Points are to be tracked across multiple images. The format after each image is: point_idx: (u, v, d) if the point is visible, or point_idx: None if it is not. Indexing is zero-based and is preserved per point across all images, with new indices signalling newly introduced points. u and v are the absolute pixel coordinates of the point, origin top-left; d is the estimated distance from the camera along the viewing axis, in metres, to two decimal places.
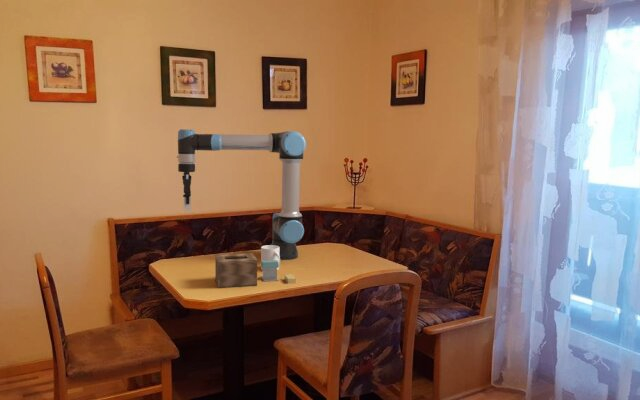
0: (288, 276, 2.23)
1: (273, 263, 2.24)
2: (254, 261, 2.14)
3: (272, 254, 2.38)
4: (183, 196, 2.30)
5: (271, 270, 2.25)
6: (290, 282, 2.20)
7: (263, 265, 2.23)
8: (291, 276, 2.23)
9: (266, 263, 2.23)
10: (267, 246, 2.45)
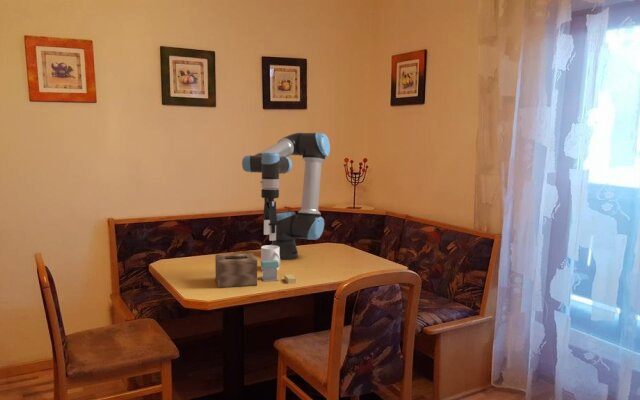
0: (288, 276, 2.23)
1: (273, 263, 2.24)
2: (254, 261, 2.14)
3: (272, 254, 2.38)
4: (269, 225, 2.15)
5: (271, 270, 2.25)
6: (290, 282, 2.20)
7: (263, 265, 2.23)
8: (291, 276, 2.23)
9: (266, 263, 2.23)
10: (267, 246, 2.45)
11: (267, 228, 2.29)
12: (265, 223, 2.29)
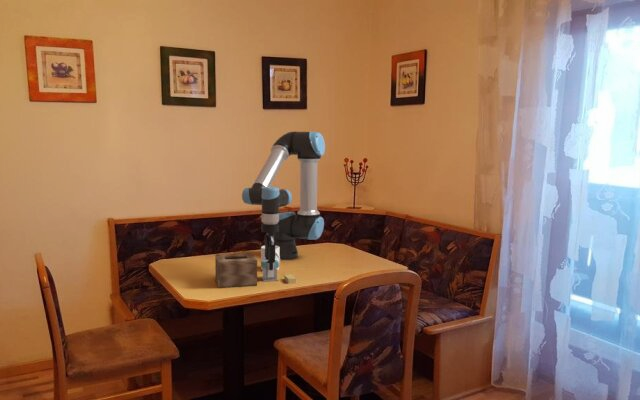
0: (288, 276, 2.23)
1: None
2: (254, 261, 2.14)
3: None
4: (267, 262, 2.21)
5: None
6: (290, 282, 2.20)
7: (263, 265, 2.23)
8: (291, 276, 2.23)
9: (266, 263, 2.23)
10: None
11: None
12: None
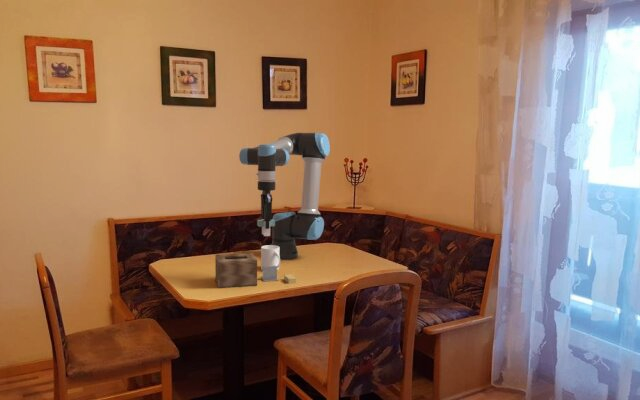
0: (288, 276, 2.23)
1: None
2: (254, 261, 2.14)
3: (272, 254, 2.38)
4: None
5: (271, 270, 2.25)
6: (291, 282, 2.20)
7: (259, 224, 2.19)
8: (291, 276, 2.23)
9: (262, 222, 2.20)
10: (267, 246, 2.45)
11: None
12: None
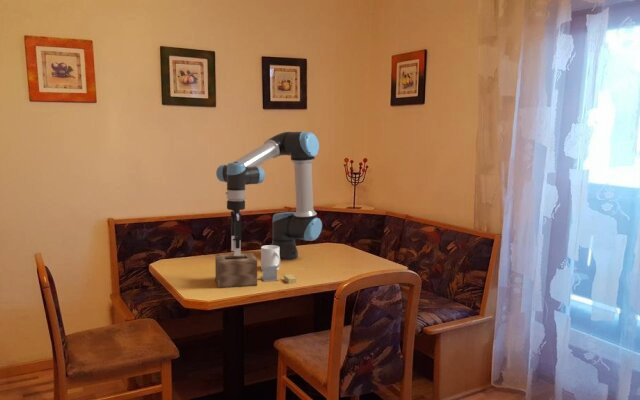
0: (288, 276, 2.23)
1: None
2: (254, 261, 2.14)
3: (272, 254, 2.38)
4: (233, 240, 2.11)
5: (271, 270, 2.25)
6: (291, 282, 2.20)
7: None
8: (291, 276, 2.23)
9: None
10: (267, 246, 2.45)
11: None
12: (233, 239, 2.21)
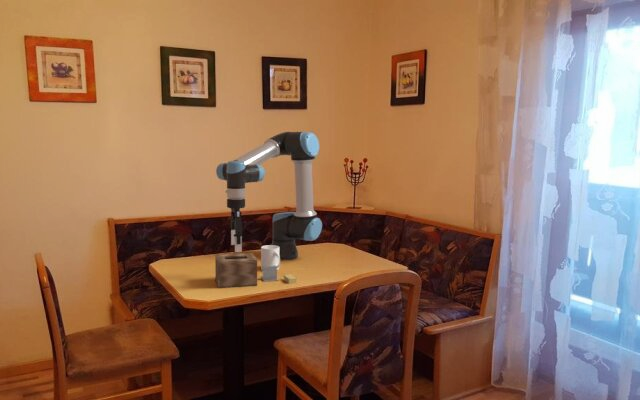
0: (288, 276, 2.23)
1: None
2: (254, 261, 2.14)
3: (272, 254, 2.38)
4: (234, 236, 2.09)
5: (271, 270, 2.25)
6: (291, 282, 2.20)
7: None
8: (291, 276, 2.23)
9: None
10: (267, 246, 2.45)
11: (234, 238, 2.24)
12: (232, 233, 2.23)
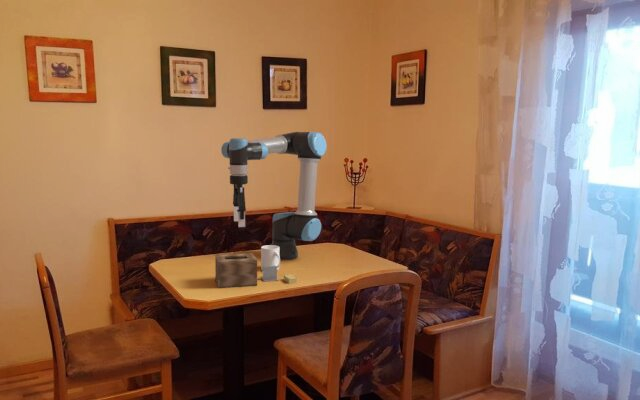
0: (288, 276, 2.23)
1: None
2: (254, 261, 2.14)
3: (272, 254, 2.38)
4: (237, 211, 2.13)
5: (271, 270, 2.25)
6: (291, 282, 2.20)
7: None
8: (291, 276, 2.23)
9: None
10: (267, 246, 2.45)
11: (237, 215, 2.28)
12: (235, 210, 2.27)
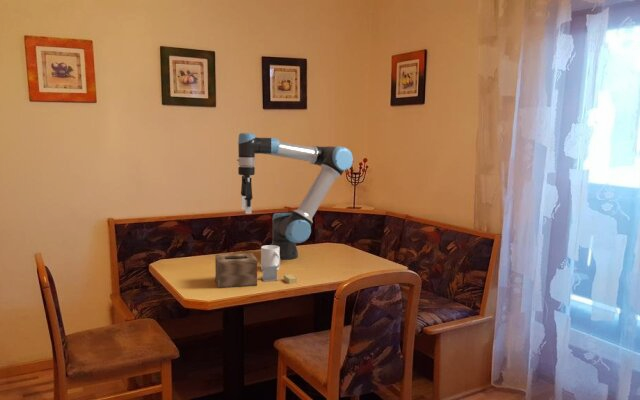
0: (288, 276, 2.23)
1: None
2: (254, 261, 2.14)
3: (272, 254, 2.38)
4: (245, 199, 2.34)
5: (271, 270, 2.25)
6: (291, 282, 2.20)
7: None
8: (291, 276, 2.23)
9: None
10: (267, 246, 2.45)
11: (244, 203, 2.48)
12: (242, 199, 2.48)
